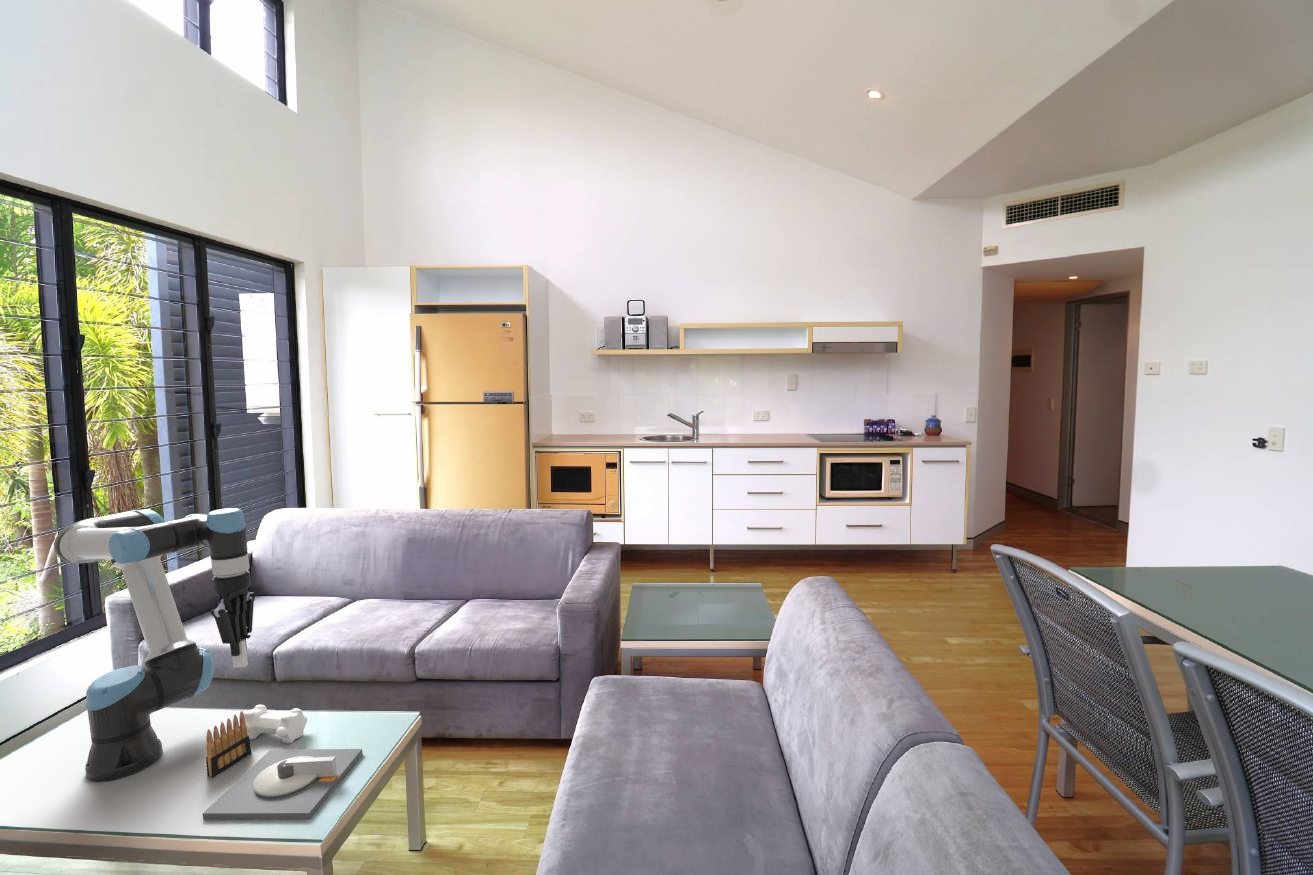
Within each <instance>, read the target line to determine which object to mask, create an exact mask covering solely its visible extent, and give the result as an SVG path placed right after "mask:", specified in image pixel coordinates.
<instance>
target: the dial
mask: <svg viewBox="0 0 1313 875" xmlns="http://www.w3.org/2000/svg"><path fill="white" fill-rule="evenodd" d="M336 772H337V770H336V758H335V756H334V757H316V758H315V757H310V756H298V757H293V758H289V759H285V760H282V761H279V762H277V763H275V764H273V765H271V766H269V767H267V768H266V769H264V770H263V771H262V772H261V773H259V774H258V775H257V777H256V778H255V780H254V783H253V787H254V791H255V793H256V794H258V795H260V796H264V797H276V796H282V795H286V794H289V793H292V792H295V791H297V790H300V789H302V788H304V787H305V786H307V785H309V784H310V783H311V782H313V781H314V780H315V779H316V778H317V777H329V776H334V775H335V774H336Z"/></svg>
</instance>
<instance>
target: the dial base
mask: <svg viewBox="0 0 1313 875" xmlns="http://www.w3.org/2000/svg"><path fill="white" fill-rule="evenodd" d="M298 756H310V757H315V758H316V757H334V756H335V758H336V770H337V772H336V774H335V775H334V776H329V777H317V778H316V779H315V780H314V781H313V782H311V783H310V784H309V785H307V786H305V787H304V788H302V789H300V790H297V791H295V792H292V793H289V794H286V795H282V796H276V797H264V796H260V795H258V794H256V793H255V791H254V787H253V783H254V780H255V778H256V777H257V775H258V774H259V773H261V772H262V771H263V770H264V769H266V768H267V767H269V766H271V765H273V764H275V763H277V762H279V761H282V760H285V759H289V758H293V757H298ZM362 756H363V749H362V748H321V749H319V748H315V749H313V748H310V749H309V748H306V749H305V748H304V749H301V748H299V749H298V748H296V749H295V748H293V749H290V748H289V749H286V748H285V749H269V751H268V752H266V753H265V754H264V755H263V756H262V757H261V758H260V759H258V761H257V762H255V763H254V764H253V765H252V766H251V767H250V768H249V769H248V770H247V771H246V772H244V774H243V775H242V776H241V777H240V778H238V779H237V780H236V781H235V782H234V783H233V784H232V785H231V786H230V787H229V788H228V789H227V790H226V791H224V793H223V794H221V795H220V797H218V798H217V799H216V800H215V801H214V802H213V803H212V804H210V805H209V807H208V808H207V809H206V810H205V811H203V813H202V819H203V820H202V821H210V820H211V821H221V820H223V821H224V820H225V821H227V820H228V821H230V820H231V821H232V820H233V821H237V820H238V821H239V820H241V821H242V820H249V821H250V820H252V821H253V820H254V821H255V820H257V821H258V820H262V821H263V820H275V821H276V820H311V818H312V817H313V816H314V815H315V813H316V812H317V811H318V810H319V808H321V806H322V805H323V804H324V802H325V801H326V800H327V799H328V797H329V796H330V795H331V794H332V793H333V792H334V790H335V789H336V788H337V787H338V785H339V784H340V783H341V782H342V781H343V779H344V778H345V777H346V775H348V773H349V772H350V771H351V769H353V766H355V764H356V763H357V762H358V761H359V759H360V758H361V757H362Z"/></svg>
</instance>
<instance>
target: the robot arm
mask: <svg viewBox="0 0 1313 875" xmlns="http://www.w3.org/2000/svg"><path fill="white" fill-rule="evenodd" d="M244 516H245V514H244V511H243V510H242V509H240V508H237V507H235V508H234V507H233V508H230V507H229V508H221V509H215V510H212V511H209V512H208V513H190V514H188V515H186V516H184V517H183V518H180V519H175V520H169V521H167V522H165V520H164V518H163V517H162V515H160V514H159V513H158V512H156V511H154V510H152V509H148V508H147V509H139V510H138V509H137V510H136V509H134V510H133V509H132V510H129V511H123V512H118V513H114V514H108V515H103V516H98V517H90V518H84V519H82V520H79V521H75V522H73V523H71V524H70V525H68V526H66V527H64V528H63V529H61V531H60V532H59V533H58V534H57V535H56V537H55V539H54V542H53V549H54V552H55V554H56V556H57V557H58V558H59V559H61V560H62V561H64V562H67V563H70V564H88V563H89V564H90V563H95V562H102V561H106V560H110V562H111V565H112V567H114V568H115V569H116V568H117V569H119V570H120V571H121V572H122V574H123V578H124V580H125V584H126V586H127V590H128V593H129V596H130V599H131V603H132V605H133V608H134V611H135V614H136V618H137V621H138V624H139V626H140V630H141V633H142V636H143V638H144V639H143V640H144V642H145V645H146V648H147V651H148V654H147V656H146V658H145V659H144V661H143V662H144V666H145V667H143V666H142V665H138V664H137V665H135V664H134V665H128V666H126V667H120V668H116V669H114V670H110V671H109V672H106V673H104V674H103V675H100V676H99V677H98V678H96V679H95V680H94V681H93V682H91V684H89V686H88V687H87V689H86V693H85V694H86V695H85V697H86V699H85V700H86V703H85V708H86V709H87V714H88V715H87V716H88V724H89V732H90V733H89V734H90V738H91V745H90V749H89V752H88V757H87V762H86V764H85V770H84V771H85V776H86V778H87V779H88V780H89V781H92V782H107V781H112V780H118V779H120V778H124V777H127V776H130V775H133V774H135V773H138V772H140V771H142V770H143V769H146V768H148V767H149V766H151V765H153V764H154V763H155V762H156V761H158V759H160V757H162V754H163V751H164V750H163V743H162V741H161V739H160V738H158V736H157V733H156V731H155V730H154V728H153V726H152V722H151V714H153V713H154V712H157V711H160V710H162V709H163V710H164V709H165V708H168V707H170V706H172V705H173V706H174V704H177V703H179V702H182V701H184V700H187V699H191V698H192V697H194V696H196V695H198V694H200V693H202V692H204V691H205V690H207V689H208V688H209V687H210V685H211V683H212V682H213V678H214V662H213V657H212V655H211V654H210V652H209V651H208V649H206V648H205V647H198V645H197V643H196V641H194V640H192V639H188V637H187V634H186V631H185V628H184V626H183V623H182V620H181V617H180V614H179V610H178V608H177V604H176V602H175V598H174V596H173V593H172V589H171V587H170V584H169V582H168V578H167V575H166V572H165V568H164V566H163V563H162V560H161V557H162V556H164V555H169V554H175V553H178V552H183V551H187V550H191V549H196V548H199V547H200V548H201V547H207V548H209V554H210V557H209V558H210V560H211V573H212V575H213V577H212V583H213V584H212V585H213V590H214V592H215V593H216V594H218V600H217V604H218V605H217V607H216V608H214V609H211V611H210V614H211V616H212V617H213V618H214V620H215V622H216V626H217V627H216V628H217V630H218V634H219V637H220V640H221V643H222V644H224V645H225V644H227V645H228V644H229V649H230V656H231V657H232V660H231V661H232V668H233V669H238V668H245V667H247V666H248V665H249V663H248V660H249V659H248V652H247V650H248V647H247V646H248V645H247V639H251V636H252V635H251V633H252V631H253V623H254V621H253V619H254V605H255V599H256V595H257V593H256V592H250V591H249V589H248V588H249V587H250V586H251V582H252V581H251V573H250V571H249V569H250V561H249V552H248V543H247V542H248V541H247V530H246V526H247V525H246V521H245V517H244Z"/></svg>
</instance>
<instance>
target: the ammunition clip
mask: <svg viewBox="0 0 1313 875" xmlns="http://www.w3.org/2000/svg"><path fill="white" fill-rule="evenodd" d="M212 734H213V735H212ZM251 747H252V746H251V739H249V735H248V733H247V726H246V722H245V717H244V712H243V711H242V710H240V713H239V717H238V716H237V714H233V719H232V721H231V719H230V718H227V719H226V726H225V724H224V722H223V721H221V722H220V727H219V728H218V726H217V725H214V727H213V732H211V730H210V729H207V731H206V747H205V748H206V756H205V763H206V777H207V778H211V779H215V778H216V777H217V776H219V775H220V774H222V773H224V772H225V771H226V770H228V769H230V768H231V767H233V766H235V765H236V764H238V763H239V762H241V761H242V760H244V759H246V758H247V757H249V756H250V755H251V753H252V748H251ZM248 755H249V756H248ZM237 762H238V763H237Z"/></svg>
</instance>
